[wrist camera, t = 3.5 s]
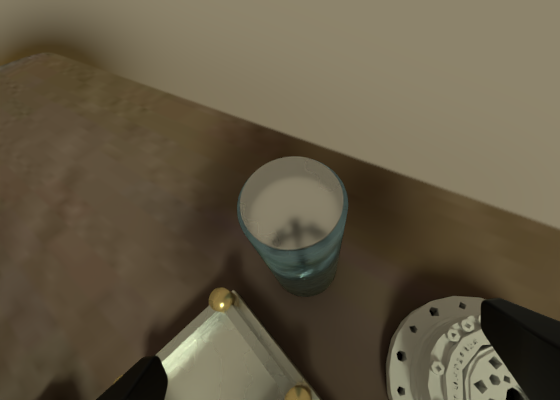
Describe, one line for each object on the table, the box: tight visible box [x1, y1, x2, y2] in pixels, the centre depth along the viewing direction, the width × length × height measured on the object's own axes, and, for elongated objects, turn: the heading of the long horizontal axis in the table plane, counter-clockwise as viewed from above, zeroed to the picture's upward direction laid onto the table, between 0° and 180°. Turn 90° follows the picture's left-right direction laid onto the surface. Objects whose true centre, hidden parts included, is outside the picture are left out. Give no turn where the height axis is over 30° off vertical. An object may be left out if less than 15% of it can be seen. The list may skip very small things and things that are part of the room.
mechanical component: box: [386, 296, 529, 400], centre depth 14 cm, size 10×4×10 cm
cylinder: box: [237, 156, 348, 297], centre depth 15 cm, size 5×5×10 cm
